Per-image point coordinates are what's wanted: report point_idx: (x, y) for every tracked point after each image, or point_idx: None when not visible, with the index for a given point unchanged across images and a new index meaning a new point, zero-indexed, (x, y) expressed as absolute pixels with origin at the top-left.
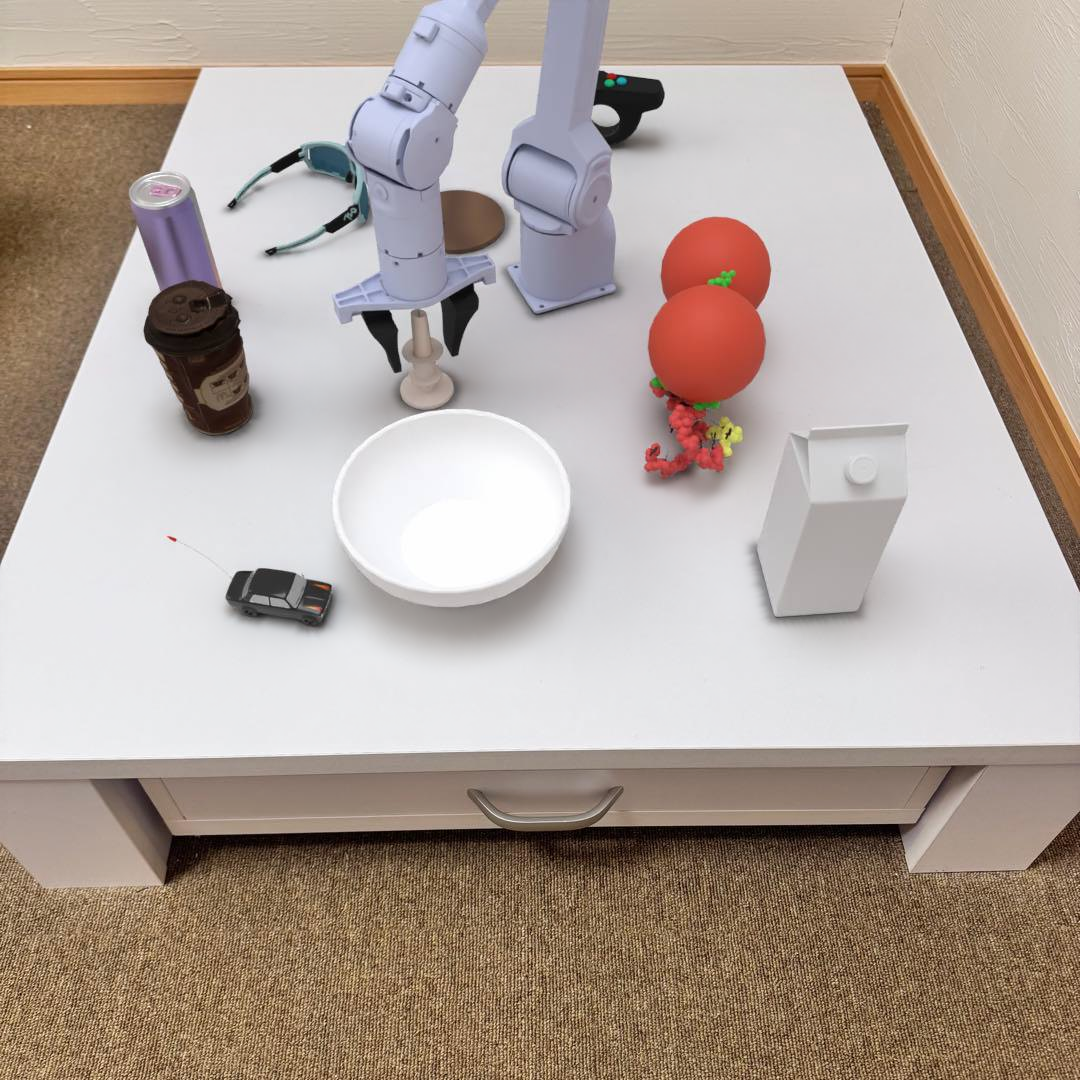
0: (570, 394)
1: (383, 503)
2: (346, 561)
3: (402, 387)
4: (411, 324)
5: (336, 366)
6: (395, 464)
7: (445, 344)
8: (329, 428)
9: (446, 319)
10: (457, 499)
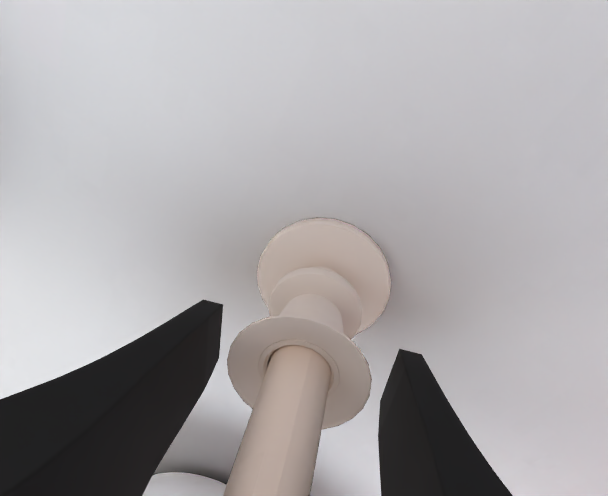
0: (581, 457)
1: None
2: None
3: (269, 253)
4: (225, 490)
5: (152, 54)
6: None
7: (396, 360)
8: (92, 244)
9: (412, 492)
10: None
